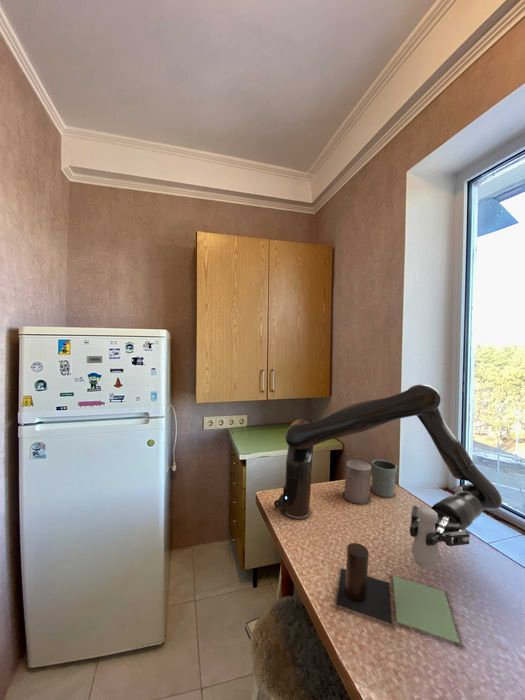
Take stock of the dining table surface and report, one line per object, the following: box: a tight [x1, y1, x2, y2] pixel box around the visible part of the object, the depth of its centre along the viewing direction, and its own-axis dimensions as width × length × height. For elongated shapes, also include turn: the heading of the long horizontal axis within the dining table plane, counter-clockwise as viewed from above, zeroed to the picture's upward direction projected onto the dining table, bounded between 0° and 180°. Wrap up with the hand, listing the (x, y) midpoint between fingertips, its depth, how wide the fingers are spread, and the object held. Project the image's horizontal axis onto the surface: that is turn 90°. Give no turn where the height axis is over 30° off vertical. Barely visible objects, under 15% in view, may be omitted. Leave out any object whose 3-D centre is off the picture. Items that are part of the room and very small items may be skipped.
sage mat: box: [392, 575, 460, 646], centre depth 70 cm, size 12×14×1 cm
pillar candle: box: [343, 459, 372, 505], centre depth 119 cm, size 10×10×15 cm
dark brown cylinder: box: [345, 542, 370, 603], centre depth 72 cm, size 5×5×11 cm
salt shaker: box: [410, 506, 441, 571], centre depth 70 cm, size 6×6×13 cm
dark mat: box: [336, 568, 393, 625], centre depth 73 cm, size 12×12×1 cm
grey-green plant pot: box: [370, 459, 398, 498], centre depth 125 cm, size 10×10×12 cm
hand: (419, 536), depth 68 cm, fingers closed on salt shaker, 3 cm apart
